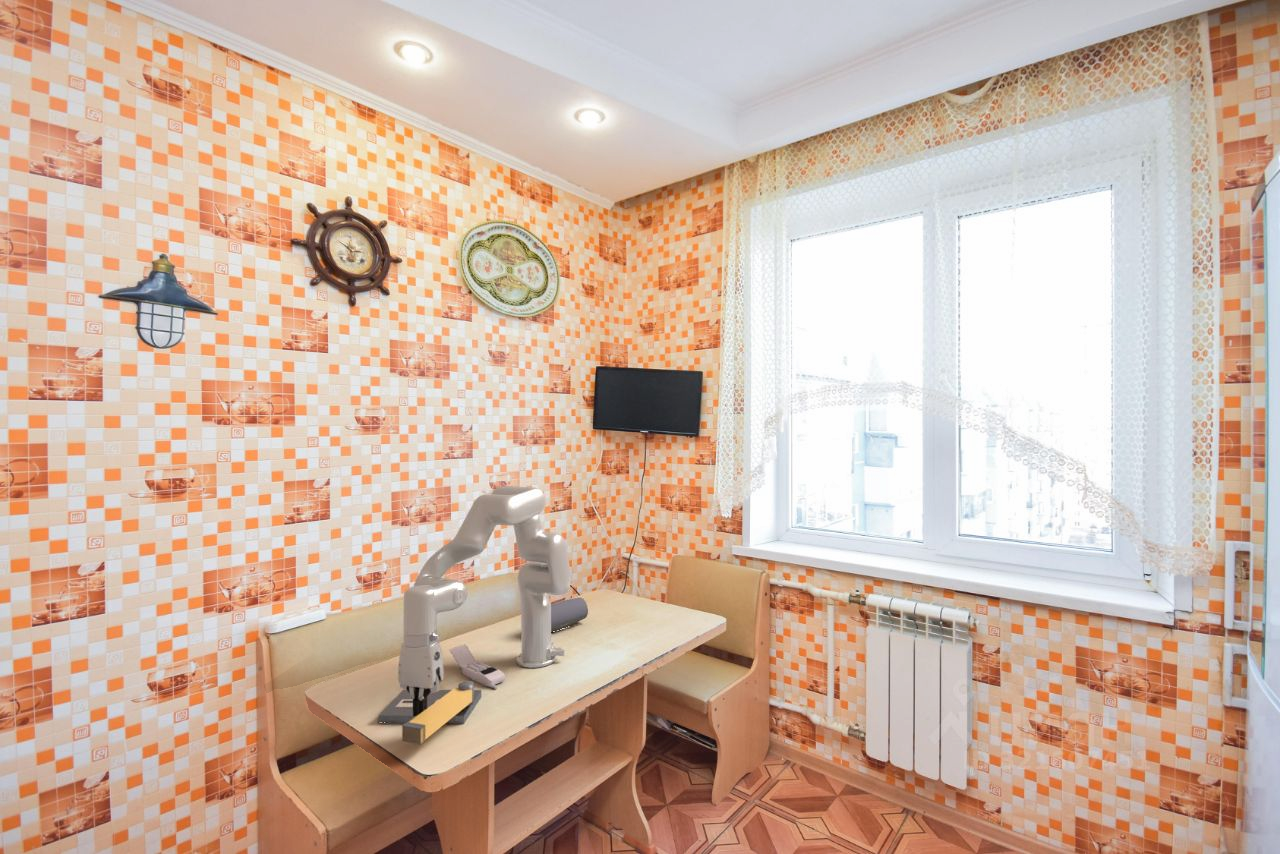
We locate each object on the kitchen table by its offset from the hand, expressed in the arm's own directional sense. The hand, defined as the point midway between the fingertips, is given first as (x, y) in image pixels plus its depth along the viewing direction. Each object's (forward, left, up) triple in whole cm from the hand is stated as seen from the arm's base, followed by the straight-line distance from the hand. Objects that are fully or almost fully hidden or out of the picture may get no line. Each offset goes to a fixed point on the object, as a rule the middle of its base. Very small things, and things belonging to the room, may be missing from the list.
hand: (420, 713), depth 133 cm
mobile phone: (-3, -34, -6) cm, 34 cm away
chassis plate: (+2, -13, -5) cm, 14 cm away
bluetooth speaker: (-21, -73, -6) cm, 76 cm away
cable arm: (-5, -2, -3) cm, 6 cm away
